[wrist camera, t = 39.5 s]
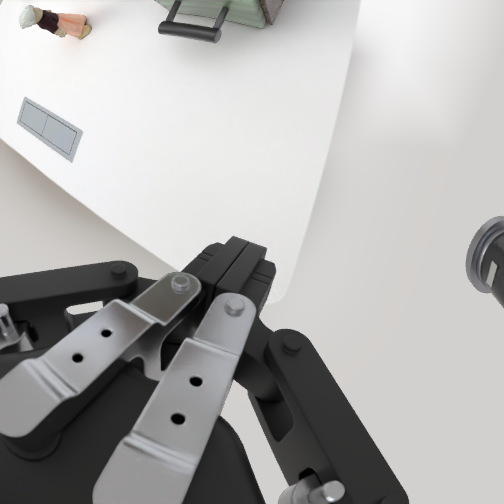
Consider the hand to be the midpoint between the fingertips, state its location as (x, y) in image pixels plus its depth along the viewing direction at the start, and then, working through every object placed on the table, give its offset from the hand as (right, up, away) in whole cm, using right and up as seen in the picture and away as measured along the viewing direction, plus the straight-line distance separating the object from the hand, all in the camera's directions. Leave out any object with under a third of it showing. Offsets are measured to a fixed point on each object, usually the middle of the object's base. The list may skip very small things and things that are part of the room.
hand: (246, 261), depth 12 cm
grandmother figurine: (-25, +34, +14) cm, 45 cm away
